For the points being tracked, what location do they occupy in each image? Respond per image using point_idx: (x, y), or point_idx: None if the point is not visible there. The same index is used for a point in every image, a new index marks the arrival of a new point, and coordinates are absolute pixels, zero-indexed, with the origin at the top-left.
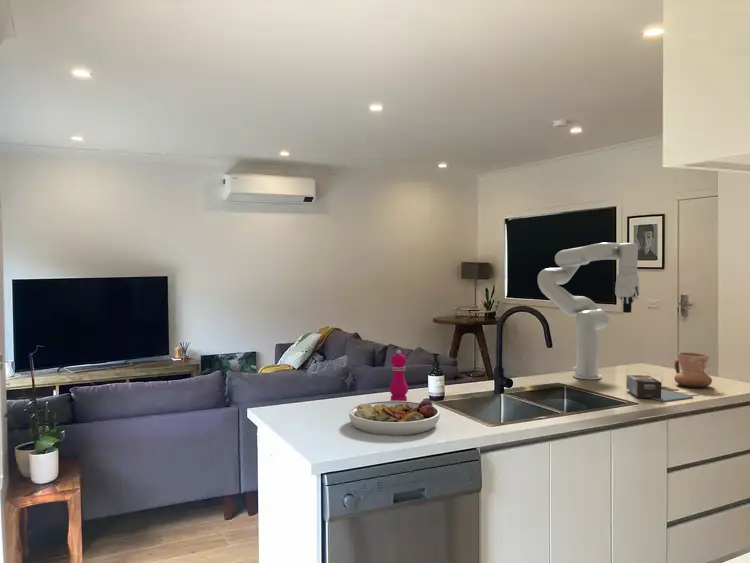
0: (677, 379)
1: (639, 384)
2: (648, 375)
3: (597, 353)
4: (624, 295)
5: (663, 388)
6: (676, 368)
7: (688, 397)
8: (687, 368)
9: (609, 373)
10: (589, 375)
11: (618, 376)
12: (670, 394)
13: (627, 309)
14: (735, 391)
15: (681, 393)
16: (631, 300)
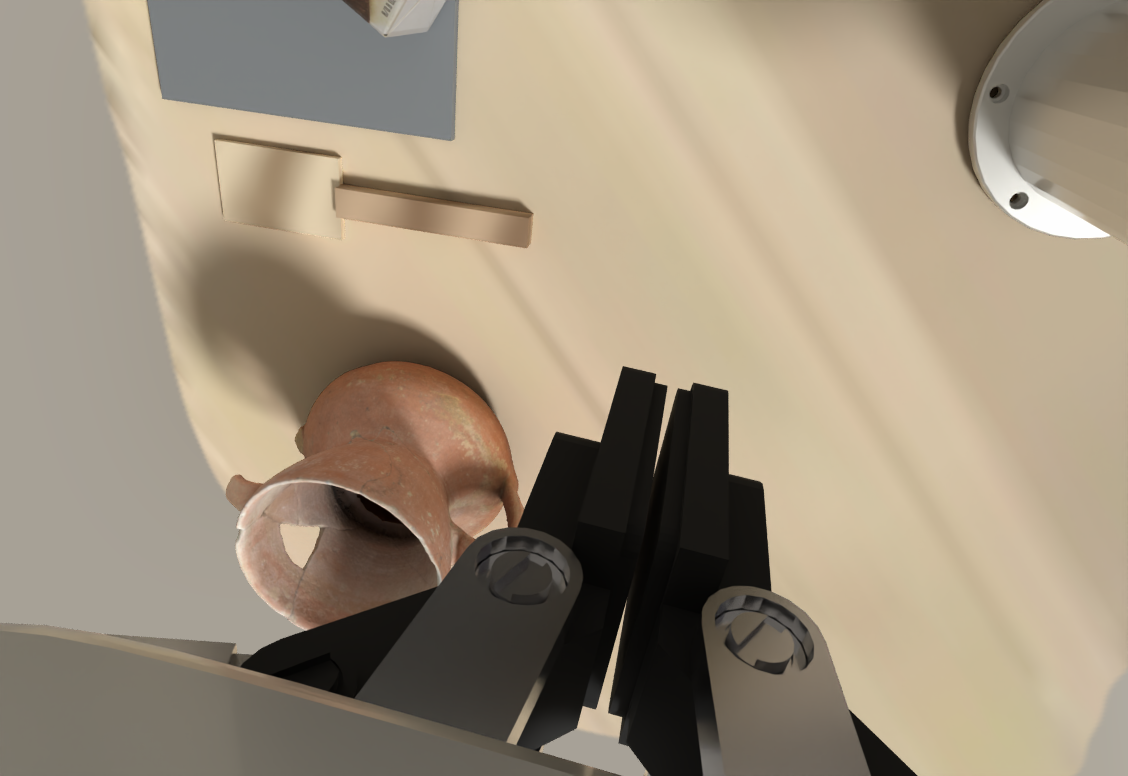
0: (440, 377)
1: None
2: (378, 25)
3: (1112, 182)
4: (415, 764)
5: (432, 199)
6: (511, 511)
7: (156, 51)
8: (363, 443)
9: (1036, 423)
10: (1060, 39)
11: (915, 369)
12: (256, 25)
13: (585, 447)
14: (241, 469)
15: (274, 148)
16: (304, 648)
